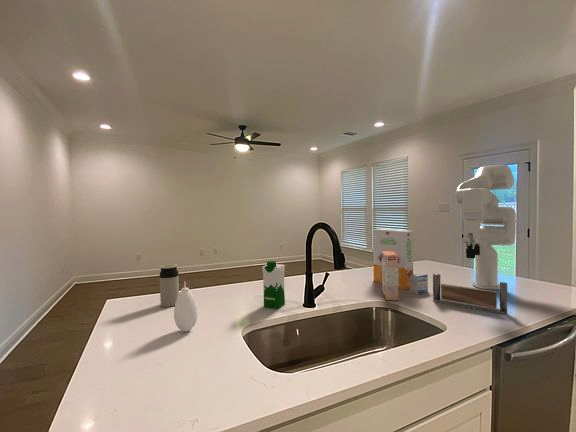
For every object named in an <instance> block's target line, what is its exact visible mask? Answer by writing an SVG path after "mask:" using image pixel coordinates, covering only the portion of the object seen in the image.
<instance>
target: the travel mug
mask: <svg viewBox="0 0 576 432" xmlns="http://www.w3.org/2000/svg"><path fill="white" fill-rule="evenodd" d="M159 268H160V272H159V291H160V292H159V295H160V296H159V297H160V306H161V307H164V308H171V307H170V306H172V307H175V306H174V305H175V303H176V300H177V297H178V295H179V294H180V288H179V287H180V284H179V278H180V277H179V271H178V264H175V263H172V264H171V263H170V264H164V265H160V266H159Z"/></svg>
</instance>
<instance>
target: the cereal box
mask: <svg viewBox="0 0 576 432" xmlns="http://www.w3.org/2000/svg"><path fill="white" fill-rule="evenodd" d="M413 233H414V231H413V230H405V229H393V228H373V229H372V237H373V238H372V244H373V245H372V247H373V249H372V251H373V252H372V253H373V254H372V256H373V259H372V260H373V265H372V266H373V281H374V282H377V283H381V284H382V251H393V252H395V253H396V254H397V255H398V289H401V290H404V291H407V290H410V275H414V234H413Z"/></svg>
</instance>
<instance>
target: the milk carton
mask: <svg viewBox="0 0 576 432" xmlns="http://www.w3.org/2000/svg"><path fill="white" fill-rule="evenodd" d="M285 267H286V264H282V263H281V264H277V262H276V260H270V261H269V260H268V261H266V264H265V265H263V266H262V267H261V270H262V276H263V278H262V281H263V285H262V286H263V308H266V307H270V308H269V309H273V308H276V309H275V310H279V309H280V308H281V306H282V305H283V306H284V305H285V304H286V302H285V301H286V297H285V296H286V295H285V293H286V292H285V270H286V269H285ZM283 306H282V307H283ZM278 308H279V309H278Z"/></svg>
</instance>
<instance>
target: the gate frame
mask: <svg viewBox="0 0 576 432" xmlns="http://www.w3.org/2000/svg"><path fill="white" fill-rule="evenodd" d="M499 285H500V289H499V308H496V309H495V308H489V307H484V306H478V305H472V304H467V303H461V302H455V301H450V300H444V299H441V274H440V273H432V301H433V302H435V303H439V302H441V303H440V304H445V303H447V304H446V305H450V304H453V305H452V306H455V305H458V306H457V307H461V306H464V307H463V308H466V307H470V308H469V309H472V308H475V309H474V310H477V309H479V310H478V311H483V310H484V311H483V312H489V313H495V314H500V315H508V282H505V281H504V282H503V281H502V282H501V281H500V282H499Z"/></svg>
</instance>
